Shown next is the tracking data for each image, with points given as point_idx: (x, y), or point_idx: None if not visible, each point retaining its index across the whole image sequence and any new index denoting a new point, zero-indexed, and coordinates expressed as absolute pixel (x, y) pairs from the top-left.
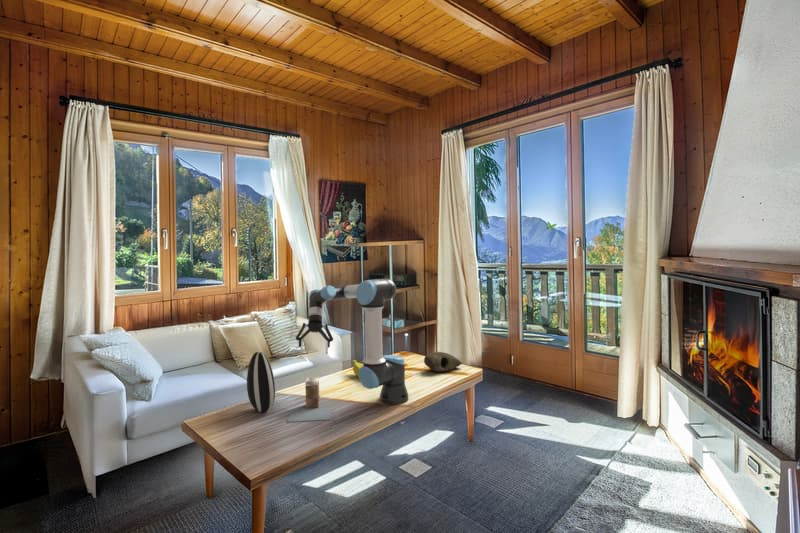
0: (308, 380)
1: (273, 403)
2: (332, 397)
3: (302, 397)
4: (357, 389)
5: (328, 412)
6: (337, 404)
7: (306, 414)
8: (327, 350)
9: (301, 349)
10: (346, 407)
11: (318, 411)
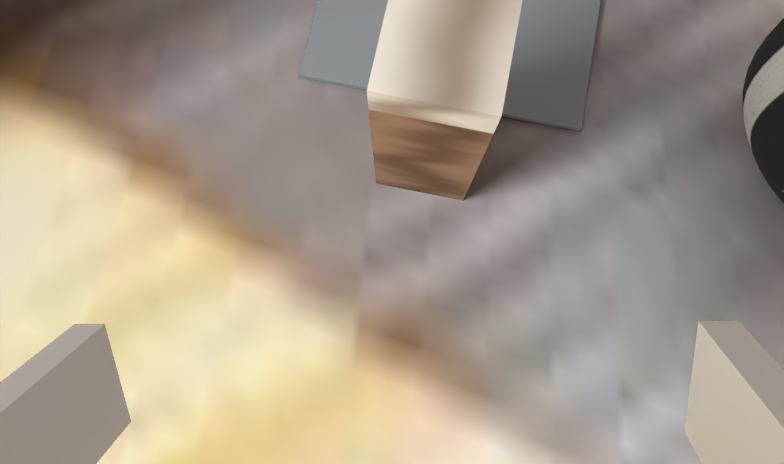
0: (487, 30)
1: (747, 73)
2: (260, 283)
3: (499, 368)
4: None
5: (335, 3)
6: (250, 131)
7: None
8: (49, 348)
9: (749, 351)
10: (201, 60)
11: None
